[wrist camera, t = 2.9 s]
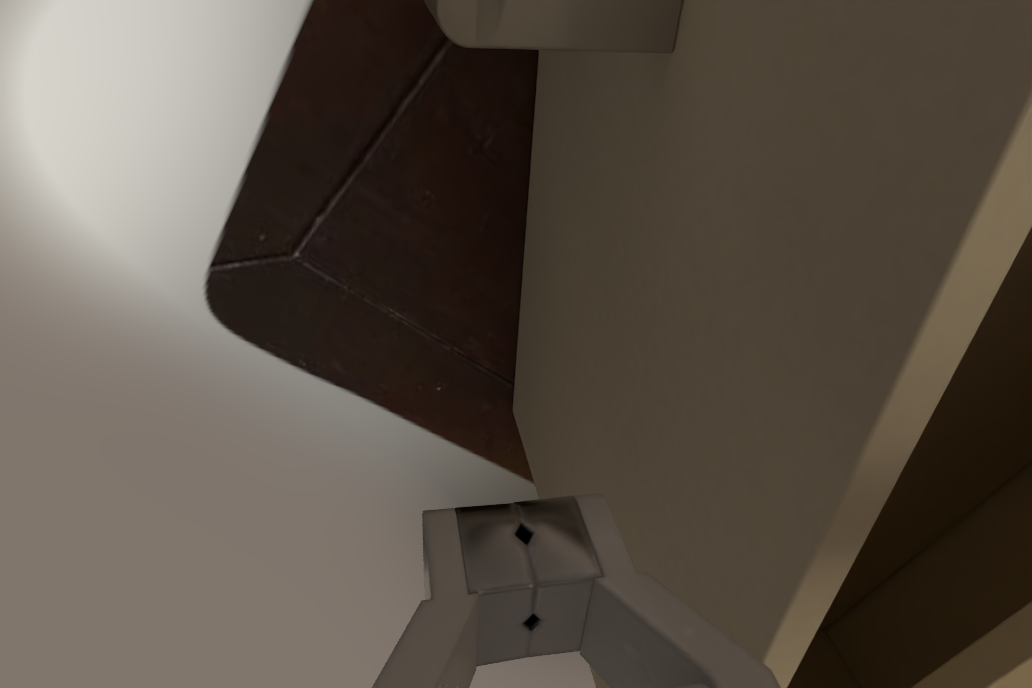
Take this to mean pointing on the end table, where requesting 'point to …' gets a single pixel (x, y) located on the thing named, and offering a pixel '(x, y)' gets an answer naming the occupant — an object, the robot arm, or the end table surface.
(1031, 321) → the cupboard
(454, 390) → the end table surface
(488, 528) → the robot arm
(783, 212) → the door
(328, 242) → the end table surface
